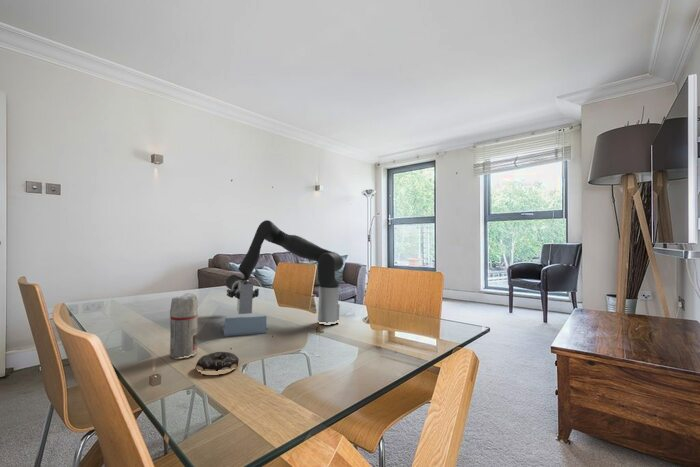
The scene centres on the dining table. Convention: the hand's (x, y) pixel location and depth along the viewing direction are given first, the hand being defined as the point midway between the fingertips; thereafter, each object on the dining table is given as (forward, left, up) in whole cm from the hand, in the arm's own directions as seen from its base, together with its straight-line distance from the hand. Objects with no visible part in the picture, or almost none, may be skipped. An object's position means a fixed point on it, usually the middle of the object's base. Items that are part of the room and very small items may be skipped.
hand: (246, 296), depth 137 cm
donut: (+12, +36, -15) cm, 41 cm away
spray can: (+22, +21, -15) cm, 34 cm away
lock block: (0, -3, -7) cm, 7 cm away
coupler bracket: (0, -2, -15) cm, 15 cm away
